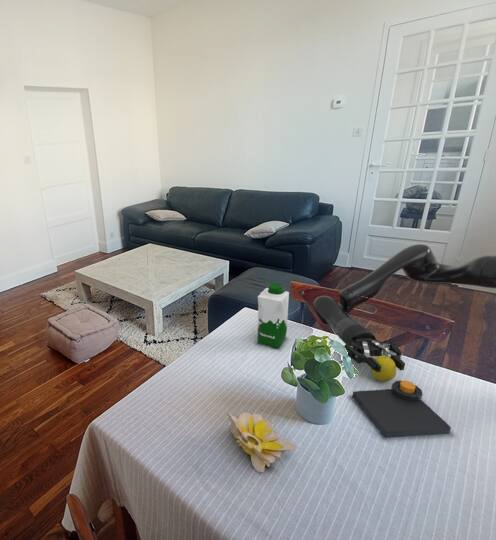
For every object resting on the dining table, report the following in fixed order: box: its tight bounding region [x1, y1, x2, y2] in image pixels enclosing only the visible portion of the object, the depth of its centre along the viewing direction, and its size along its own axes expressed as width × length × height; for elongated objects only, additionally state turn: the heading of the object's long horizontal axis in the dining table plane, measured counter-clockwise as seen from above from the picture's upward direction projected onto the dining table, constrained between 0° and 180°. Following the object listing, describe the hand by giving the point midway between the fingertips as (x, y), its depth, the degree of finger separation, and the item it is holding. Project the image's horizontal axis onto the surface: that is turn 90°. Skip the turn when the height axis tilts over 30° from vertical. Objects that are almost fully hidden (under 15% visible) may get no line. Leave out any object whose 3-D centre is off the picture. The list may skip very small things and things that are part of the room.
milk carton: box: [257, 283, 290, 350], centre depth 113 cm, size 9×9×20 cm
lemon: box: [370, 356, 397, 382], centre depth 92 cm, size 6×6×8 cm
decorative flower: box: [225, 410, 297, 473], centre depth 75 cm, size 15×11×10 cm
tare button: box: [399, 380, 416, 394], centre depth 85 cm, size 3×3×2 cm
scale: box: [351, 380, 452, 438], centre depth 82 cm, size 15×14×4 cm
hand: (391, 368), depth 89 cm, fingers closed on lemon, 5 cm apart
